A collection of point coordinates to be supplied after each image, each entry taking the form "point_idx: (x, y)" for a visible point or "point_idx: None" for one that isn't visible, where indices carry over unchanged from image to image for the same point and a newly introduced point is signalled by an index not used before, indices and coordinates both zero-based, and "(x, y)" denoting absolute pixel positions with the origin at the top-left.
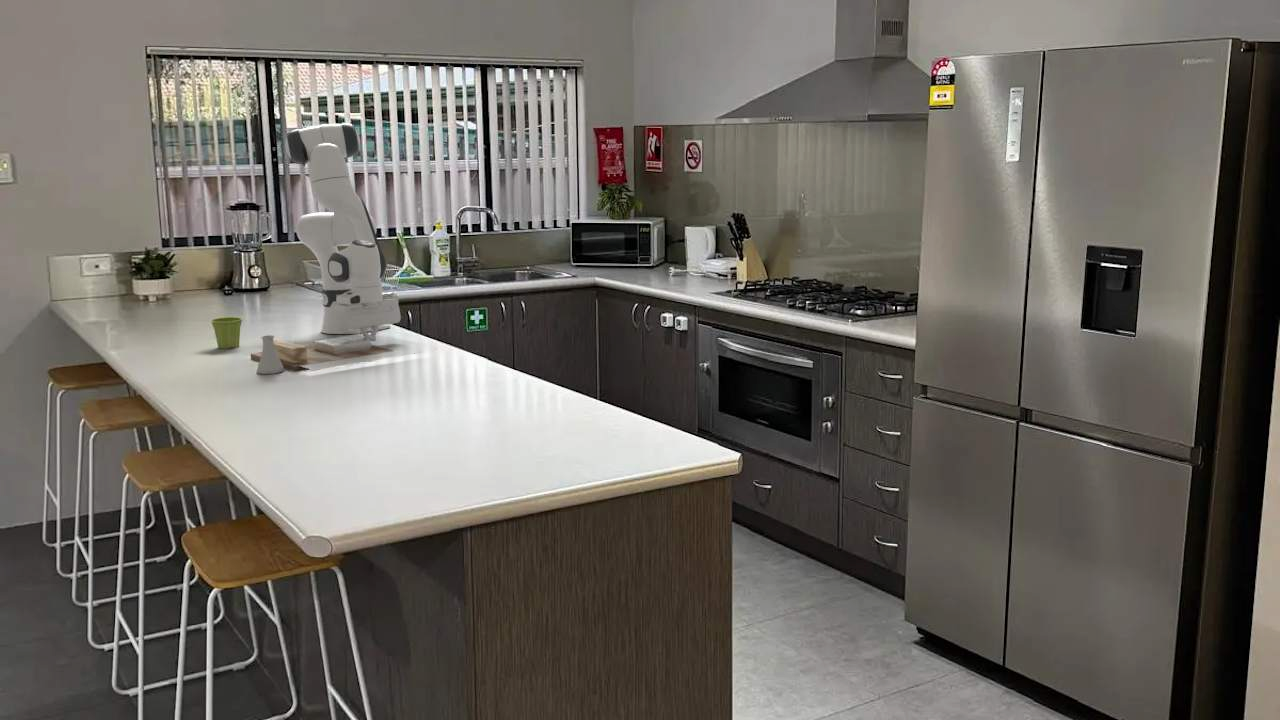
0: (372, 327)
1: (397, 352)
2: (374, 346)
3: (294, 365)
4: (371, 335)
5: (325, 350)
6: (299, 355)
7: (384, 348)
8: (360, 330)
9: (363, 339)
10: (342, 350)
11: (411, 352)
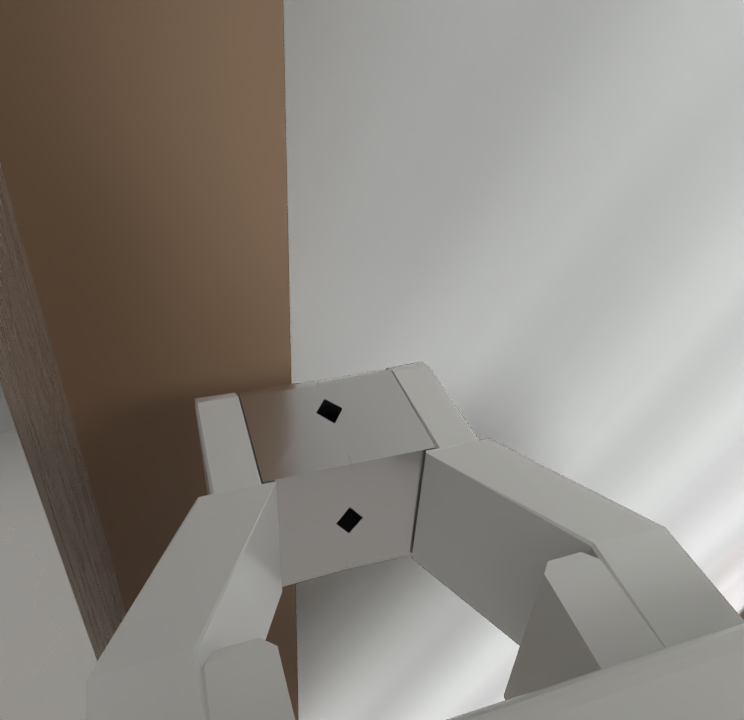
0: (543, 677)
1: (412, 605)
2: None
3: None
4: (375, 539)
5: None
6: None
7: (289, 675)
8: (91, 704)
9: (49, 699)
10: None
11: (489, 644)
